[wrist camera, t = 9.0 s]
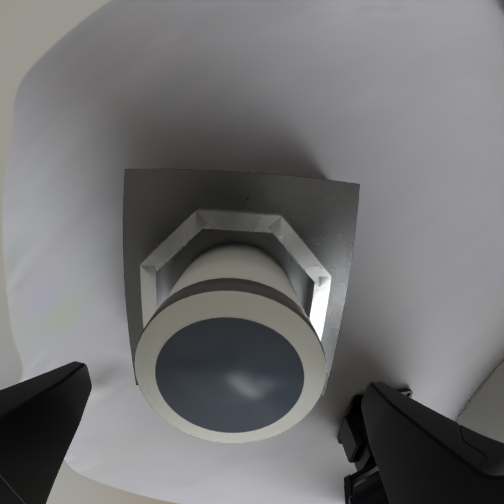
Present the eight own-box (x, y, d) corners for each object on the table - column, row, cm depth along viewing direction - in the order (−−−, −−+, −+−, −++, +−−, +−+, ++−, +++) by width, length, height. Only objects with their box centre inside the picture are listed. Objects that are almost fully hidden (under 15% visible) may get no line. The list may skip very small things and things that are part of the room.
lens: (299, 246, 15) (345, 297, 8) (286, 352, 16) (309, 444, 9) (177, 238, 14) (123, 283, 7) (178, 345, 16) (145, 435, 9)
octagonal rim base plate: (332, 184, 19) (369, 184, 13) (309, 356, 22) (328, 408, 16) (153, 173, 18) (115, 167, 12) (155, 347, 21) (130, 395, 15)
